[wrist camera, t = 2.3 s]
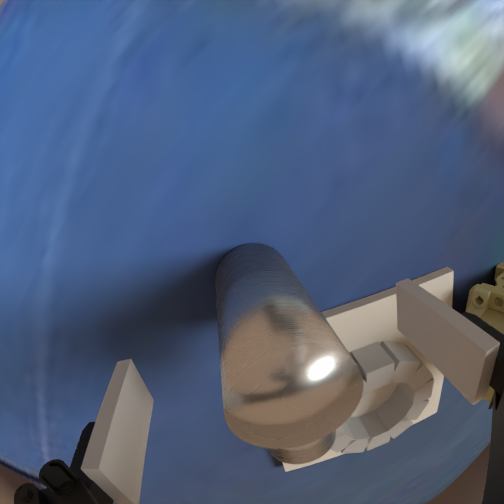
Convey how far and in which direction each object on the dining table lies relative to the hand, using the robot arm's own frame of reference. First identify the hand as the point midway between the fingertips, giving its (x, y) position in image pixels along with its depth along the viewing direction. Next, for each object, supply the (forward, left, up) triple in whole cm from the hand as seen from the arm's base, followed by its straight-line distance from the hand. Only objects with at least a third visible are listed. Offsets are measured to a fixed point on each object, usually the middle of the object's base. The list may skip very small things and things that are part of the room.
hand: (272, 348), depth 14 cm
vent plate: (+13, +7, -8) cm, 16 cm away
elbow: (+1, 0, -8) cm, 8 cm away
